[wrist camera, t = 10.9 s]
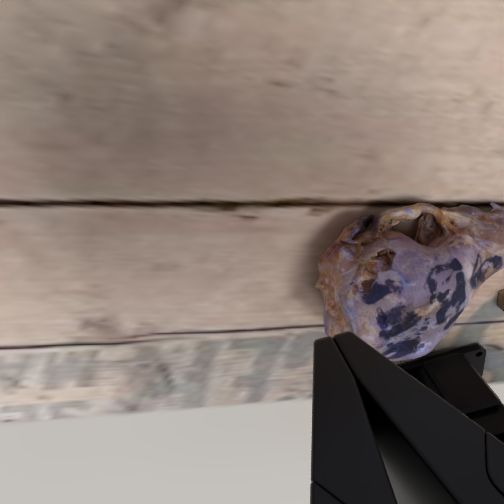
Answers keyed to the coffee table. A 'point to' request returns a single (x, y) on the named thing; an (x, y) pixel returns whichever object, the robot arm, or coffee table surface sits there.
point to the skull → (408, 275)
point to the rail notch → (501, 299)
